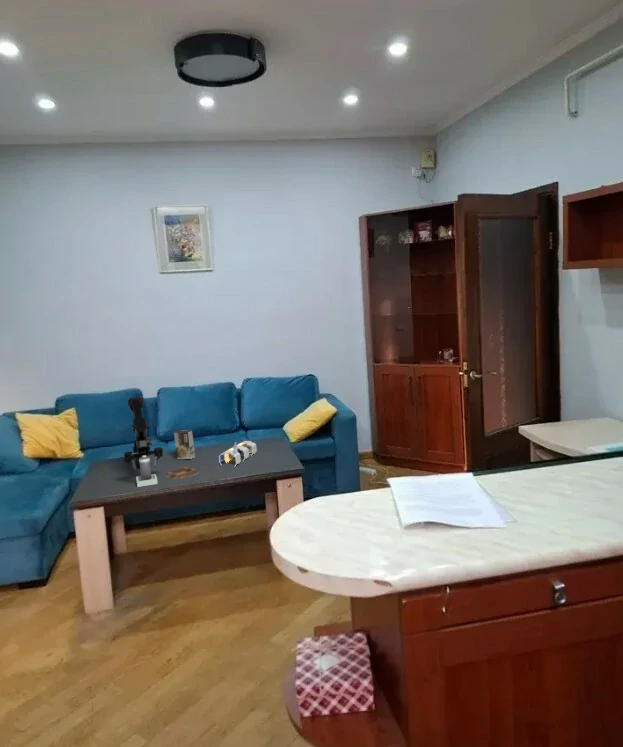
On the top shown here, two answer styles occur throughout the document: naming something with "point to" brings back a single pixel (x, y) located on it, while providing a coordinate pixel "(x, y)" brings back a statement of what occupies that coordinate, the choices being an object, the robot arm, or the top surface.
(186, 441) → the coffee box
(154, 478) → the white square tray
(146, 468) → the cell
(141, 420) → the robot arm
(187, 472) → the brown wooden tray
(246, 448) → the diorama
